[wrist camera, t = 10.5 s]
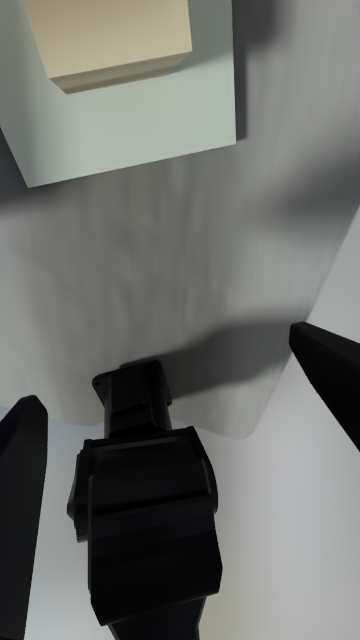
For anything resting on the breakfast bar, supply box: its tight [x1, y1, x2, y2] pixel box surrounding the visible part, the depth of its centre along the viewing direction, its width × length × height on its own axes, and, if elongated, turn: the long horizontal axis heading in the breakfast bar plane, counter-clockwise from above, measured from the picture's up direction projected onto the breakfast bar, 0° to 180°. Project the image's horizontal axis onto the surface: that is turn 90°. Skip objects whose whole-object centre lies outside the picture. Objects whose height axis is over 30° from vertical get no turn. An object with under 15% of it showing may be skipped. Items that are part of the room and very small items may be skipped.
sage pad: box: [0, 0, 236, 188], centre depth 12 cm, size 12×12×1 cm
